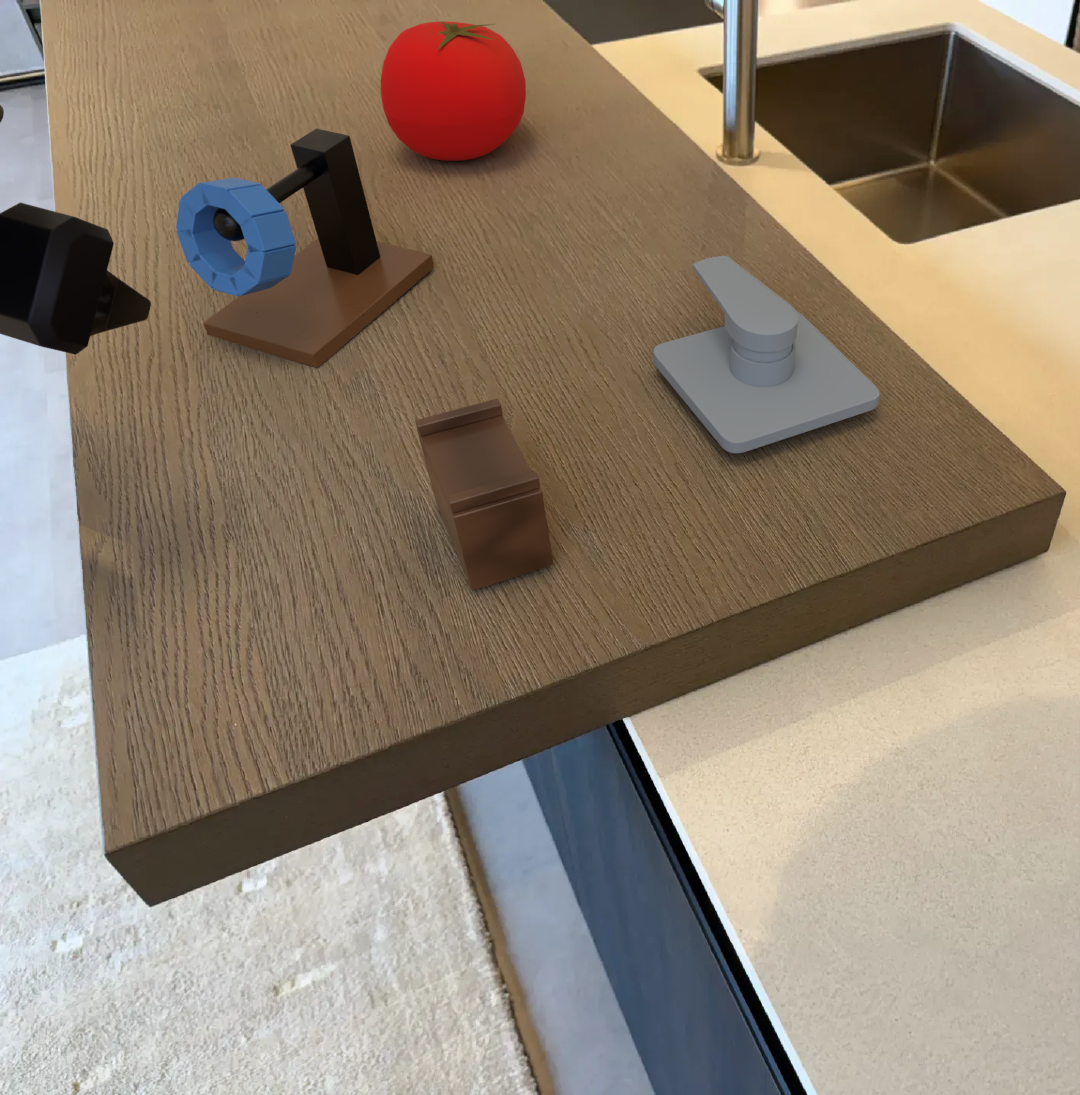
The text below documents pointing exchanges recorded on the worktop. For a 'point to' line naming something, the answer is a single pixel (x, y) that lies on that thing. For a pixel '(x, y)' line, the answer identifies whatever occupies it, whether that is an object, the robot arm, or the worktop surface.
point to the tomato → (452, 90)
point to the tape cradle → (485, 493)
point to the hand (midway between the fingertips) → (84, 292)
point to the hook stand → (321, 264)
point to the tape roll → (260, 229)
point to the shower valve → (760, 366)
